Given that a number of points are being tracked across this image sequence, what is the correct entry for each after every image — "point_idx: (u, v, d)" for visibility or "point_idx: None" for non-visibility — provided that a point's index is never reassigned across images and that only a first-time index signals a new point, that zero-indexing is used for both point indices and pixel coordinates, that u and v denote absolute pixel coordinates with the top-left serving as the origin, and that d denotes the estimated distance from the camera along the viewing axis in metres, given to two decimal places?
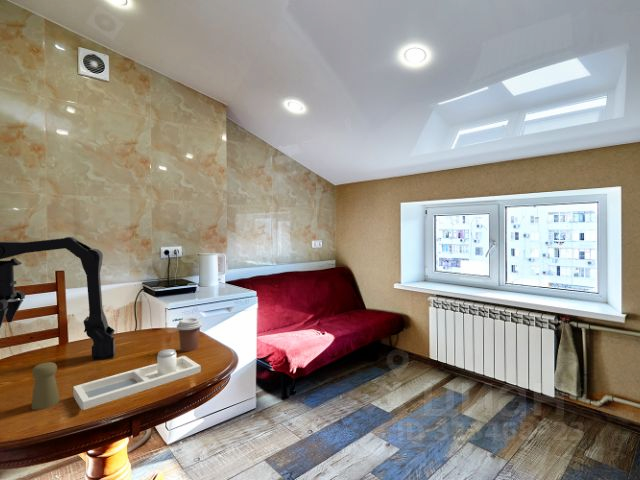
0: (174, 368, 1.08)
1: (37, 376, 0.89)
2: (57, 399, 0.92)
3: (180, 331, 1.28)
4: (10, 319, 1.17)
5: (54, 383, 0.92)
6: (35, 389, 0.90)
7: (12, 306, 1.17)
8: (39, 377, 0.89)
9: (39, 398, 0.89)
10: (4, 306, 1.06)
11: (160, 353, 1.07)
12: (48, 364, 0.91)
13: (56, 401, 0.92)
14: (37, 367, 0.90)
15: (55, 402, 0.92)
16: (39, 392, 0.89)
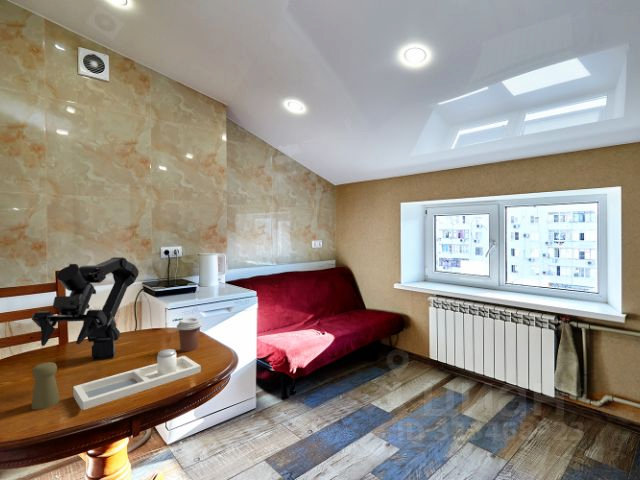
0: (174, 368, 1.08)
1: (37, 376, 0.89)
2: (57, 399, 0.92)
3: (180, 331, 1.28)
4: (45, 342, 0.99)
5: (54, 383, 0.92)
6: (35, 389, 0.90)
7: (50, 329, 1.03)
8: (39, 377, 0.89)
9: (39, 398, 0.89)
10: None
11: (160, 353, 1.07)
12: (48, 364, 0.91)
13: (56, 401, 0.92)
14: (37, 367, 0.90)
15: (55, 402, 0.92)
16: (39, 392, 0.89)
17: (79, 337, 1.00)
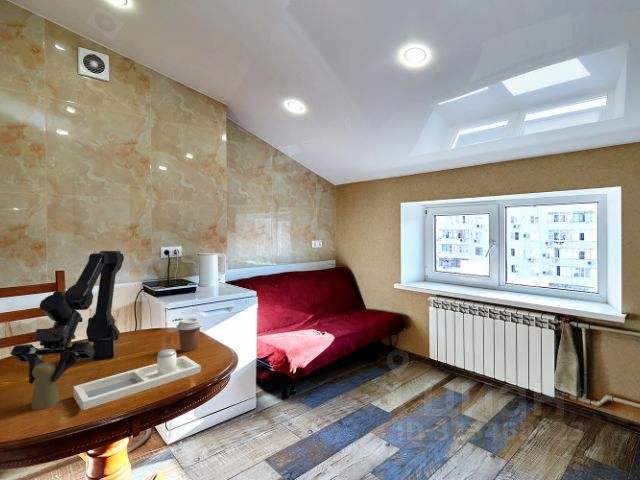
0: (174, 368, 1.08)
1: (37, 376, 0.89)
2: (57, 399, 0.92)
3: (180, 331, 1.28)
4: (33, 379, 0.91)
5: (54, 383, 0.92)
6: (35, 389, 0.90)
7: None
8: (39, 377, 0.89)
9: (39, 398, 0.89)
10: None
11: (160, 353, 1.07)
12: (48, 364, 0.91)
13: (56, 401, 0.92)
14: (37, 367, 0.90)
15: (55, 402, 0.92)
16: (39, 392, 0.89)
17: (55, 374, 0.91)
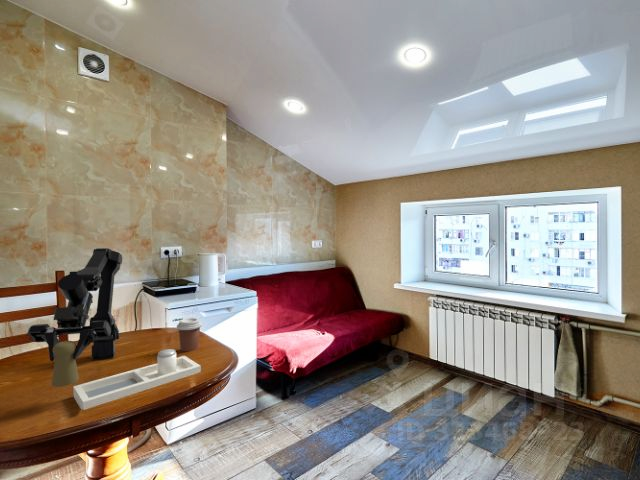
0: (174, 368, 1.08)
1: (59, 354, 0.90)
2: (77, 376, 0.94)
3: (180, 331, 1.28)
4: (53, 357, 0.91)
5: (74, 360, 0.93)
6: (56, 367, 0.90)
7: (56, 343, 0.94)
8: (61, 354, 0.90)
9: (61, 375, 0.90)
10: None
11: (160, 353, 1.07)
12: (68, 342, 0.92)
13: (77, 378, 0.93)
14: (58, 345, 0.91)
15: (76, 379, 0.93)
16: (61, 369, 0.90)
17: (76, 351, 0.92)
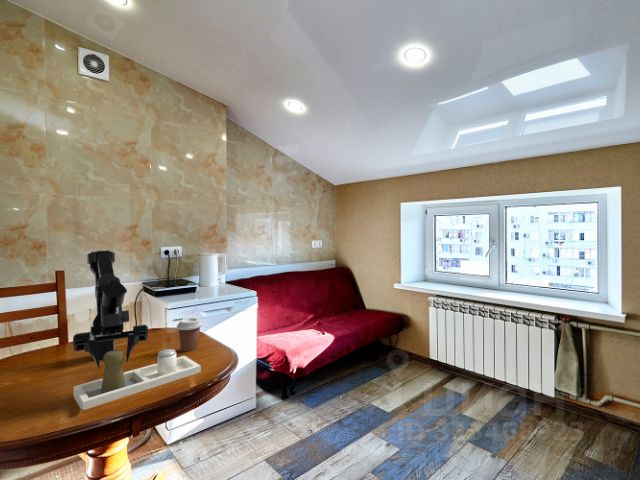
0: (174, 368, 1.08)
1: (112, 362, 0.95)
2: (124, 383, 0.99)
3: (180, 331, 1.28)
4: None
5: (122, 368, 0.99)
6: (108, 375, 0.95)
7: None
8: (114, 363, 0.95)
9: (113, 383, 0.95)
10: None
11: (160, 353, 1.07)
12: (118, 351, 0.98)
13: (124, 385, 0.99)
14: (110, 354, 0.96)
15: (124, 386, 0.98)
16: (113, 377, 0.96)
17: (128, 354, 0.98)
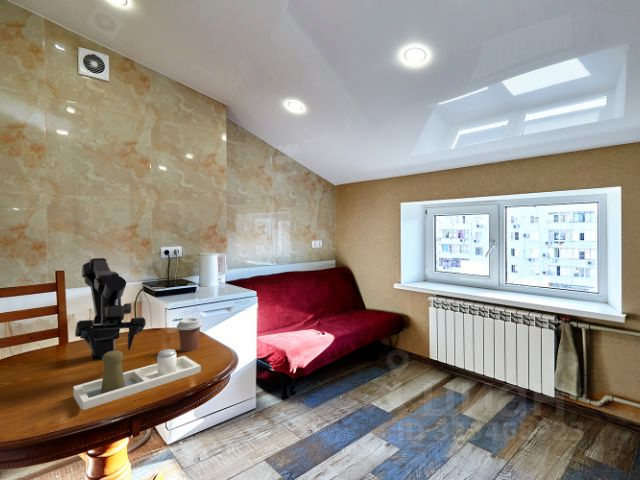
0: (174, 368, 1.08)
1: (111, 363, 0.95)
2: (124, 383, 0.99)
3: (180, 331, 1.28)
4: None
5: None
6: (108, 375, 0.95)
7: None
8: (113, 363, 0.95)
9: (113, 383, 0.95)
10: None
11: (160, 353, 1.07)
12: (117, 351, 0.98)
13: (124, 385, 0.99)
14: (109, 355, 0.95)
15: (124, 386, 0.98)
16: (113, 377, 0.95)
17: (130, 343, 1.08)
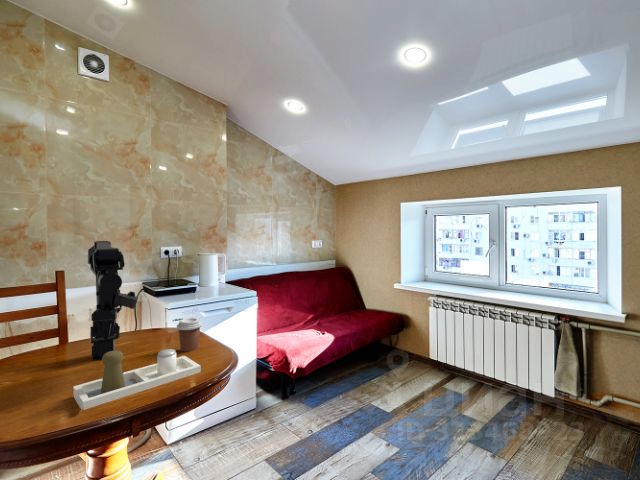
0: (174, 368, 1.08)
1: (111, 363, 0.95)
2: (124, 383, 0.99)
3: (180, 331, 1.28)
4: None
5: None
6: (108, 375, 0.95)
7: None
8: (113, 363, 0.95)
9: (113, 383, 0.95)
10: None
11: (160, 353, 1.07)
12: (117, 351, 0.98)
13: (124, 385, 0.99)
14: (109, 355, 0.95)
15: (124, 386, 0.98)
16: (113, 377, 0.95)
17: (113, 325, 1.14)
